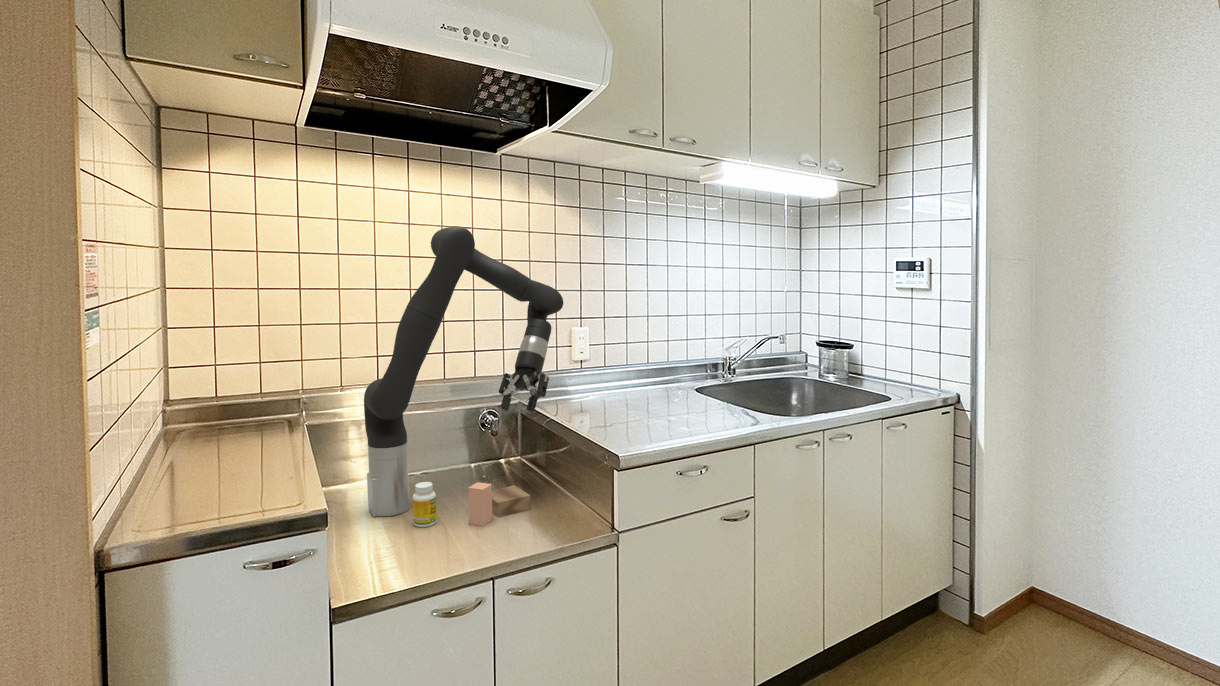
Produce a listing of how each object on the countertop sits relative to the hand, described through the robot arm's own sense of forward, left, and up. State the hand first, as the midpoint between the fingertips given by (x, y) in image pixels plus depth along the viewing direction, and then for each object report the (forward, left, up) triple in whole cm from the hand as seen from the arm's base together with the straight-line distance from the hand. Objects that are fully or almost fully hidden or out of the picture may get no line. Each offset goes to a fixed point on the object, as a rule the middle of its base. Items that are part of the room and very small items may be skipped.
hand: (516, 410), depth 157 cm
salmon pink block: (-15, -11, -24) cm, 30 cm away
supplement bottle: (-26, -4, -24) cm, 36 cm away
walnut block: (-6, -6, -24) cm, 25 cm away
